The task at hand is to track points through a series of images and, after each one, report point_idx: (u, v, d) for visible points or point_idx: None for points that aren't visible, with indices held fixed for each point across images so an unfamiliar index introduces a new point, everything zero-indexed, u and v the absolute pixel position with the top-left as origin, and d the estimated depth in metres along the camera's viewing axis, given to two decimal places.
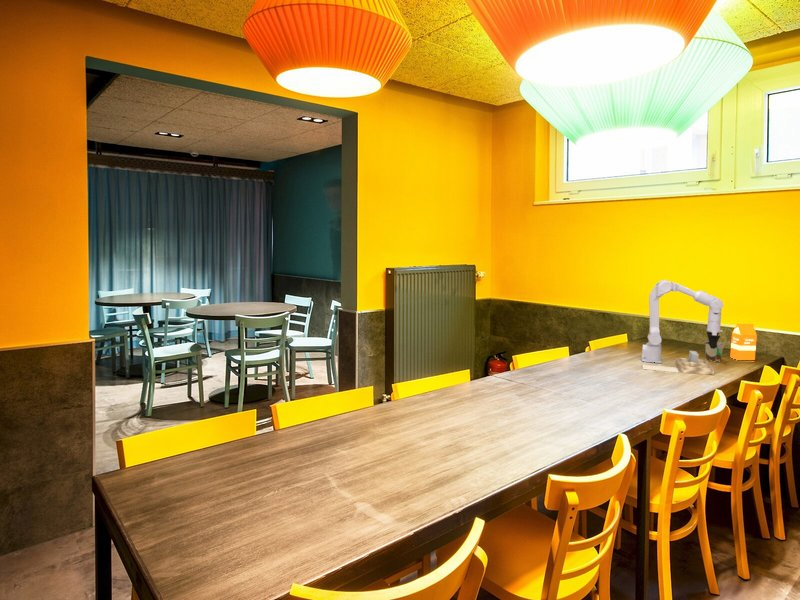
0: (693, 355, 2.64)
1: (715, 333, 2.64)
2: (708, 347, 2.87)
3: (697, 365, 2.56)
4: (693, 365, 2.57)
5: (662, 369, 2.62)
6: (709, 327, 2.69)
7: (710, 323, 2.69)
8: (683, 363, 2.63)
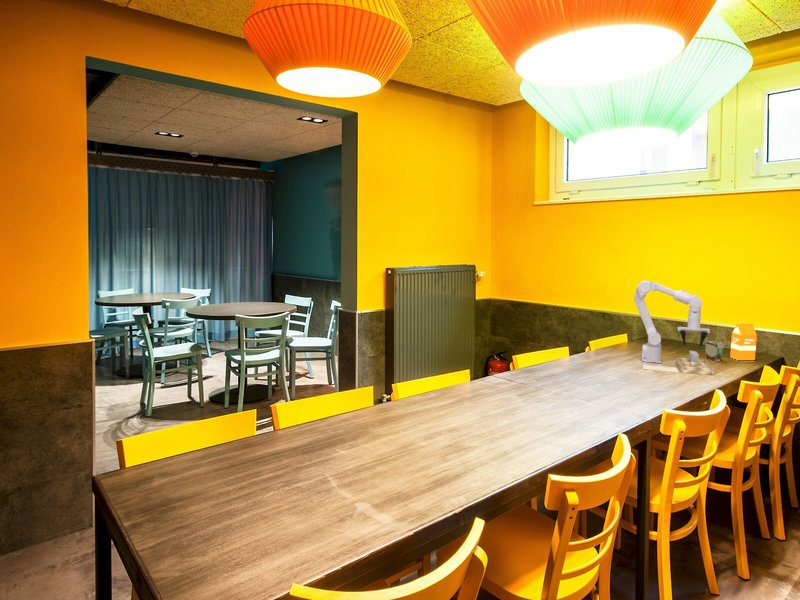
0: (693, 355, 2.64)
1: (678, 328, 2.75)
2: (708, 347, 2.87)
3: (697, 365, 2.56)
4: (693, 365, 2.57)
5: (662, 369, 2.62)
6: None
7: None
8: (683, 363, 2.63)
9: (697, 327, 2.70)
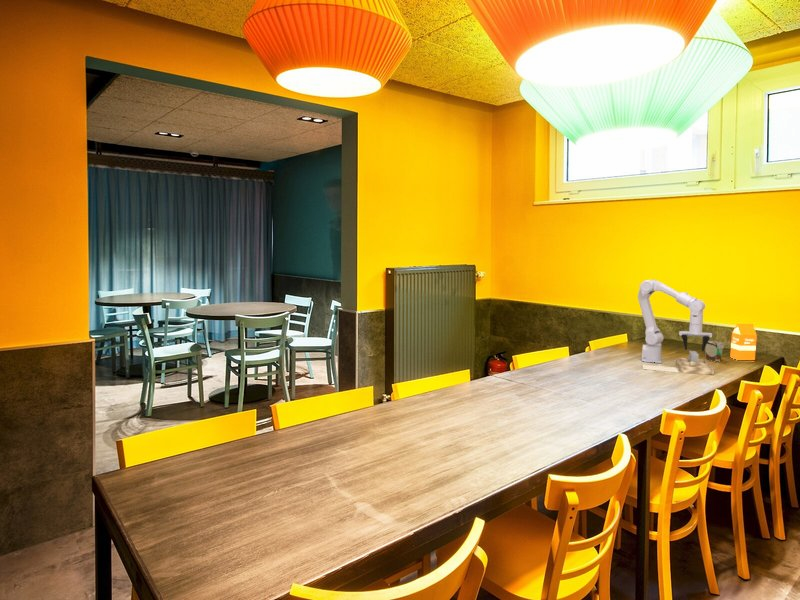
0: (693, 355, 2.64)
1: (679, 333, 2.69)
2: (708, 347, 2.87)
3: (697, 365, 2.57)
4: (693, 365, 2.57)
5: (662, 369, 2.62)
6: None
7: None
8: (683, 363, 2.63)
9: (699, 331, 2.63)
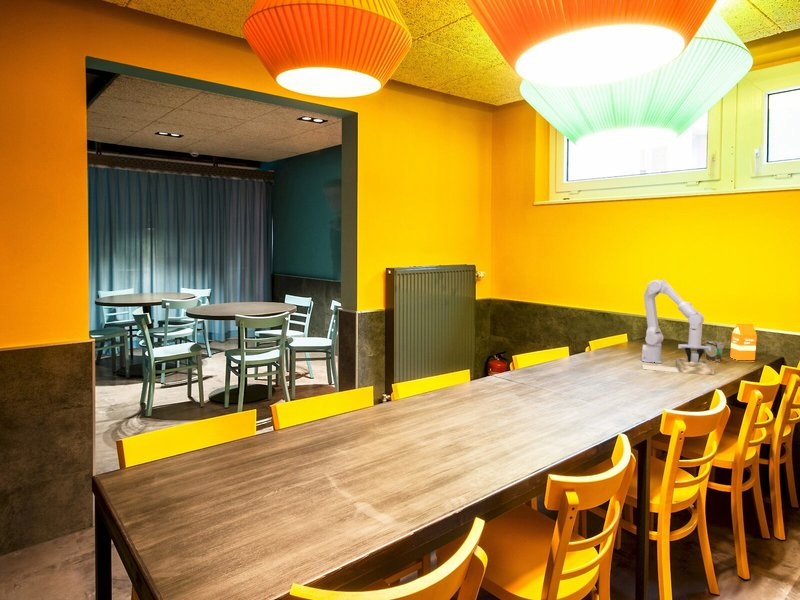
0: (693, 355, 2.64)
1: (678, 346, 2.69)
2: None
3: (697, 365, 2.57)
4: (693, 365, 2.58)
5: (662, 369, 2.62)
6: None
7: None
8: (683, 363, 2.63)
9: (698, 345, 2.64)
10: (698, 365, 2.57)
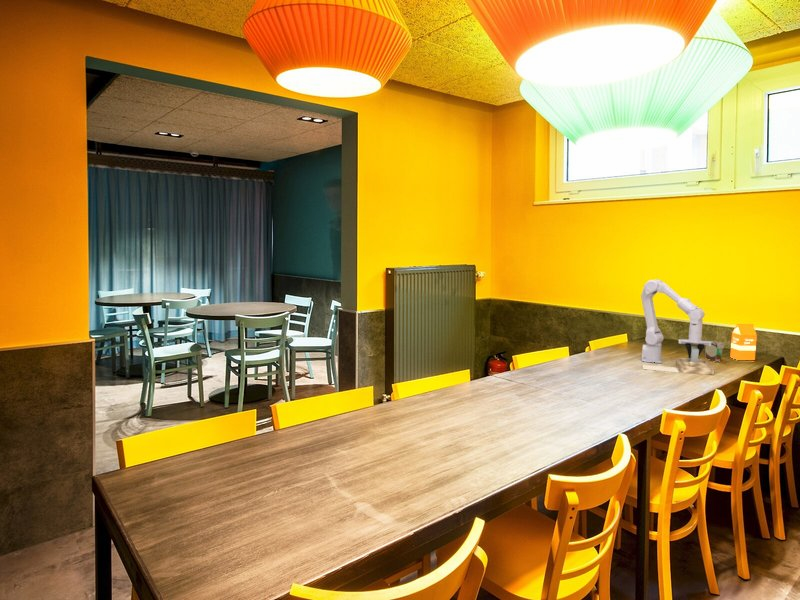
0: (693, 350, 2.63)
1: (678, 341, 2.69)
2: (708, 347, 2.87)
3: (696, 365, 2.57)
4: (692, 365, 2.58)
5: (662, 369, 2.62)
6: None
7: None
8: (683, 363, 2.63)
9: (698, 340, 2.64)
10: (698, 365, 2.57)
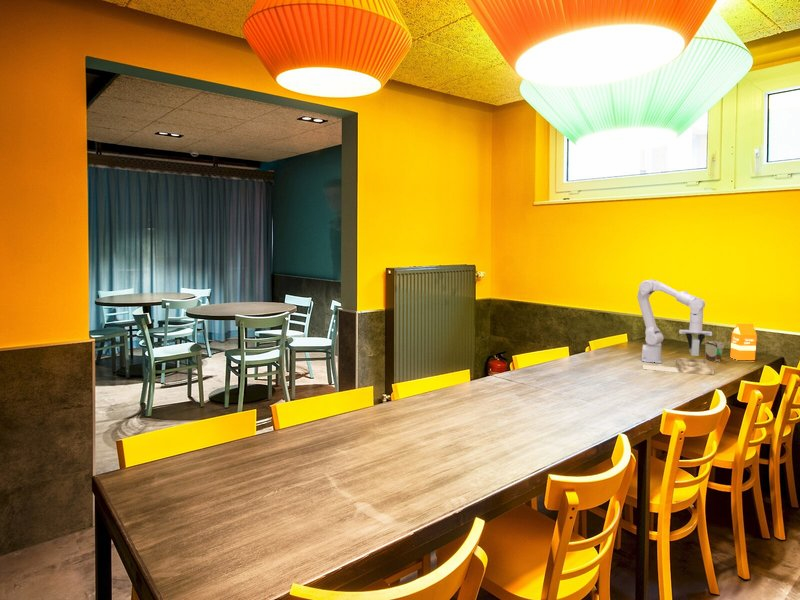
0: (694, 341, 2.63)
1: (679, 331, 2.69)
2: (708, 347, 2.87)
3: (695, 365, 2.57)
4: (691, 365, 2.58)
5: (662, 369, 2.62)
6: None
7: None
8: (683, 363, 2.63)
9: (699, 330, 2.63)
10: (697, 365, 2.57)
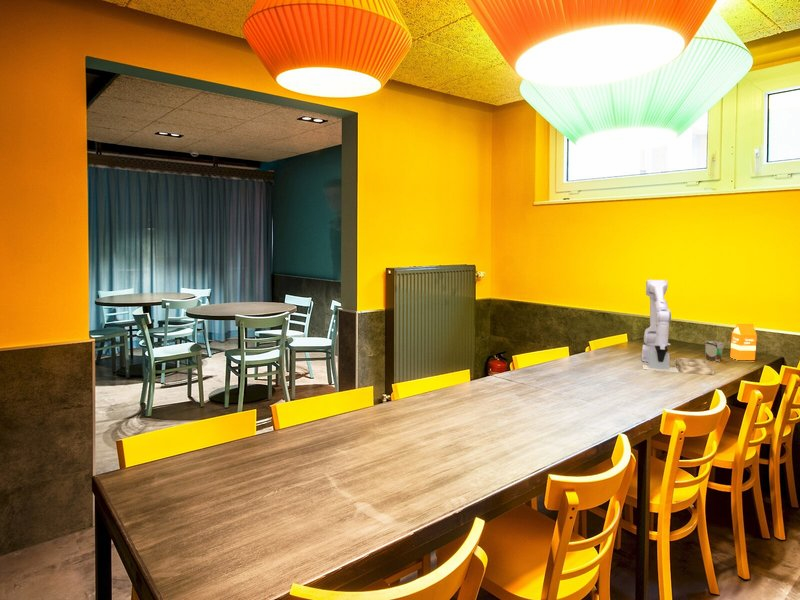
0: None
1: (663, 347, 2.57)
2: (708, 347, 2.87)
3: (696, 365, 2.57)
4: (692, 365, 2.58)
5: (662, 369, 2.62)
6: (657, 341, 2.62)
7: (658, 336, 2.62)
8: (683, 363, 2.63)
9: None
10: (697, 365, 2.57)
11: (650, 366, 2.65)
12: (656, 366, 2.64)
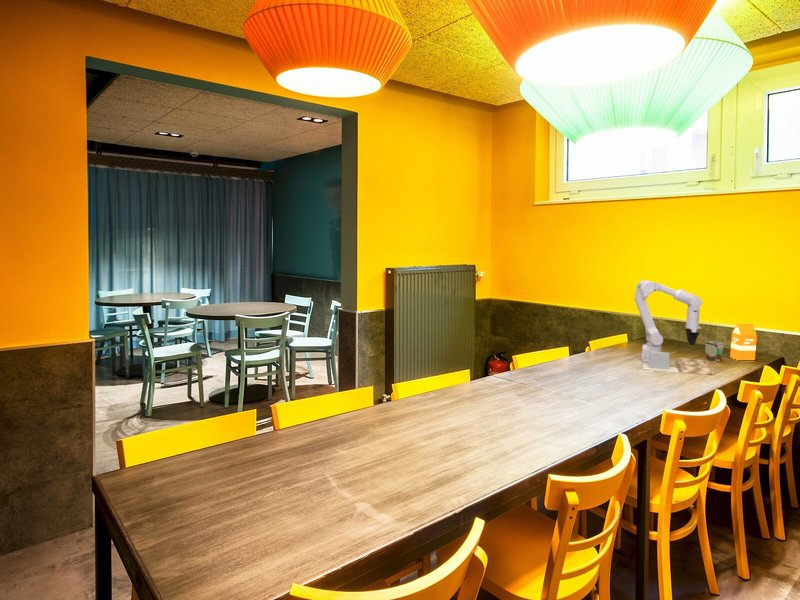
0: (669, 354, 2.62)
1: (695, 330, 2.71)
2: (708, 347, 2.87)
3: (696, 365, 2.57)
4: (692, 365, 2.58)
5: (662, 369, 2.62)
6: (688, 324, 2.76)
7: (689, 320, 2.76)
8: (683, 363, 2.63)
9: None
10: (698, 365, 2.57)
11: (650, 366, 2.65)
12: (656, 366, 2.64)
